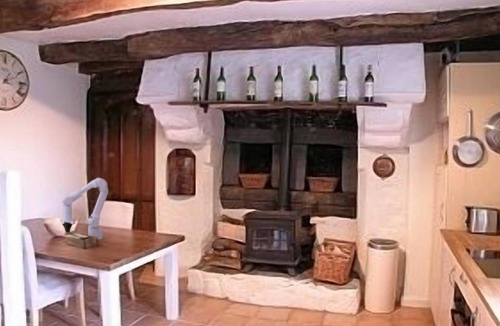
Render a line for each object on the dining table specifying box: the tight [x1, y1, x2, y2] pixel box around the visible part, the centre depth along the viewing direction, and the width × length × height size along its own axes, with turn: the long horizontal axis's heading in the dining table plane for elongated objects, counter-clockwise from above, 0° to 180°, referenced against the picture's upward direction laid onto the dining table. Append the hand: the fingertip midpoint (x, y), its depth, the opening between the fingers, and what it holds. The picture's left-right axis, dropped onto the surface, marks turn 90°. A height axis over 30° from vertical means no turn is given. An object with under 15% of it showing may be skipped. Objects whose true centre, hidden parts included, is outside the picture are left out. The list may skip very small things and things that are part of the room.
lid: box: [62, 231, 88, 239], centre depth 325 cm, size 9×16×2 cm, turn 55°
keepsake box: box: [67, 233, 99, 250], centre depth 320 cm, size 11×18×6 cm, turn 55°
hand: (67, 233), depth 330 cm, fingers closed
